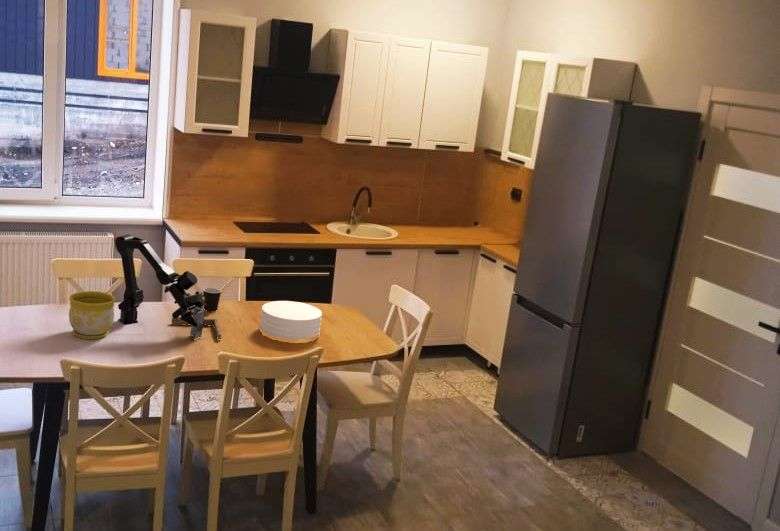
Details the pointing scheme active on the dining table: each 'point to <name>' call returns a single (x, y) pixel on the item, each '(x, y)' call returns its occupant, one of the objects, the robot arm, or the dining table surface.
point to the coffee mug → (211, 298)
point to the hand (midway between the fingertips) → (199, 325)
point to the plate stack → (290, 320)
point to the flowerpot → (91, 314)
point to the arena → (206, 321)
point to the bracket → (198, 322)
